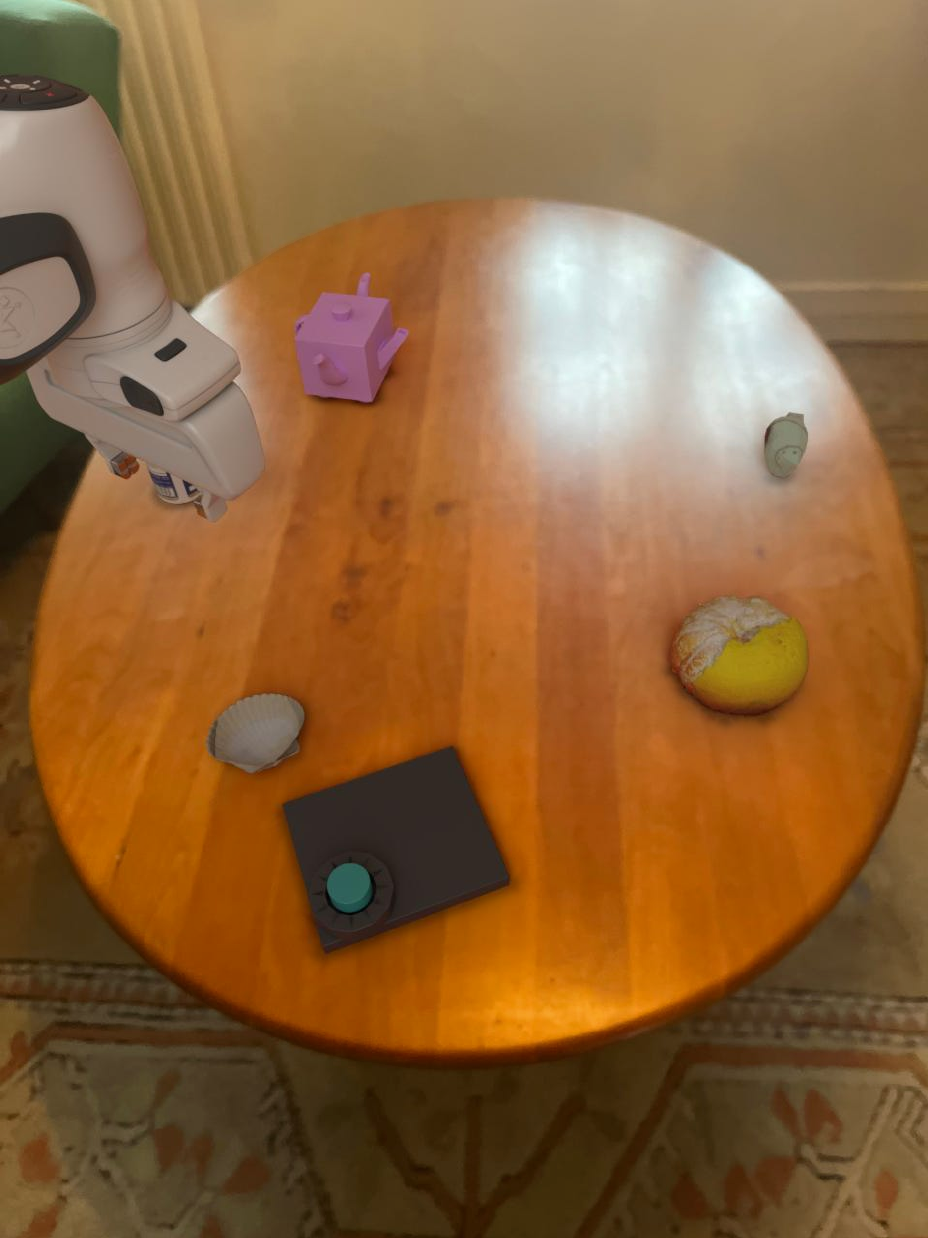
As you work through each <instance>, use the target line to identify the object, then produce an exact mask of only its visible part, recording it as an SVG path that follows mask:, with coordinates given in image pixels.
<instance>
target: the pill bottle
mask: <svg viewBox="0 0 928 1238" xmlns="http://www.w3.org/2000/svg"><path fill="white" fill-rule="evenodd" d="M144 464H145V466H146V469H147V471H148V473H149V476H150V478H151V481H152V484H153V485H154V488H155V489H154V490H155V491H156V494H157V495H158V497H159V498H160V499H161V500H162V501H164V502H165V503H167V504H168V503H169V504H172V505H182V504H187V503H191V502H192V501H193V500H195V499H196V498H197V497H198V496H199V495H203V492H200V491H198V490H197V488H196V486H195V485H193V484H191V483H189V482H187V481H184V480H182V479H180V478H178V477H176V476H174V475H172V474H170V473H167V472H165V471H163V470H161V469H159V468H157V467H155V466H152V465H150V464H148V463H146V462H144Z"/></svg>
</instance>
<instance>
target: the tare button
mask: <svg viewBox="0 0 928 1238" xmlns="http://www.w3.org/2000/svg"><path fill="white" fill-rule="evenodd" d="M327 890H328V893H329V896H330V899H331V901H332V903H333V905H334V906H335V907H336V908H337V909H338V910H340V911H343V912H348V913H350V912H356V911H359V910H361V909H362V908H364V907H365V906H366V905H367V904H368V903H369V901H370V899H371V897H372V893H373V889H372V884H371V880H370V876H369V874H368V872H367V870H366V869H365V868H364V867H362V866H361V865H358V864H355V863H346V864H342V865H340V866H338V867H337V868H335V869H334V870H333V871H332V873H331V874H330V876H329V878H328V881H327Z"/></svg>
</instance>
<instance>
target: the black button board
mask: <svg viewBox="0 0 928 1238" xmlns="http://www.w3.org/2000/svg"><path fill="white" fill-rule="evenodd" d="M281 806H282V808H283V812H284V816H285V819H286V823H287V827H288V830H289V834H290V837H291V840H292V845H293V847H294V848H293V849H294V852H295V855H296V858H297V862H298V866H299V870H300V873H301V876H302V881H303V884H304V887H305V890H306V894H307V899H308V903H309V906H310V909H311V914H312V916H313V919H314V923H315V926H316V930H317V933H318V937H319V940H320V944H321V947H322V950H323V952H324V954H325V955H326V954H329V953H332V952H335V951H337V950H341V949H344V948H346V947H348V946H351V945H353V944H356V943H359V942H361V941H364V940H366V939H367V940H368V939H370V938H372V937H375V936H377V935H380V934H383V933H385V932H388V931H390V930H393V929H397V928H399V927H402V926H405V925H406V924H409V923H412V922H415V921H417V920H420V919H423V918H426V917H428V916H430V915H433V914H436V913H439V912H441V911H445V910H446V909H449V908H452V907H455V906H458V905H460V904H464V903H465V902H468V901H471V900H473V899H476V898H478V897H479V898H480V897H481V896H484V895H486V894H490V893H492V892H494V891H495V892H496V891H498V890H500V889H502V888H505V887H508V886H510V885H511V884H510V883H511V882H510V874H509V872H508V870H507V868H506V865H505V863H504V860H503V858H502V855H501V854H500V851H499V849H498V846H497V844H496V841H495V840H494V837H493V836H492V835H493V834H492V832H491V830H490V828H489V826H488V824H487V822H486V819H485V817H484V814H483V812H482V809H481V807H480V806H479V803H478V801H477V798H476V796H475V794H474V791H473V789H472V786H471V784H470V782H469V780H468V778H467V776H466V773H465V771H464V769H463V766H462V764H461V761H460V759H459V757H458V755H457V753H456V750H455V748H454V746H453V745H450V746H447V747H445V748H441V749H439V750H435V751H433V752H431V753H427V754H424V755H421V756H419V757H415V758H413V759H410V760H407V761H404V762H400V763H398V764H396V765H391V766H389V767H386V768H383V769H380V770H377V771H374V772H371V773H369V774H368V773H367V774H365V775H363V776H359V777H356V778H354V779H350V780H347V781H344V782H342V783H339V784H336V785H333V786H330V787H327V788H324V789H321V790H319V791H318V790H317V791H316V792H313V793H309V794H307V795H304V796H300V797H298V798H295V799H292V800H289V801H286V802H283V803H282V804H281ZM346 863H355V864H358V865H361V866H362V867H364V868H365V869H366V870H367V872H368V874H369V876H370V880H371V884H372V889H373V893H372V897H371V899H370V901H369V903H368V904H367V905H366V906H365V907H364V908H362V909H361V910H359V911H356V912H350V913H348V912H343V911H340V910H338V909H337V908H336V907H335V906H334V905H333V903H332V901H331V899H330V896H329V893H328V890H327V881H328V878H329V876H330V874H331V873H332V871H333V870H334V869H335V868H337V867H338V866H340V865H342V864H346Z"/></svg>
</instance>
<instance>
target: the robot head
mask: <svg viewBox="0 0 928 1238" xmlns="http://www.w3.org/2000/svg"><path fill="white" fill-rule="evenodd" d="M808 443H809V431H808V428H807V426H806V425H805V414H804V413H797V412H791V411H789V412H788V413H787V414H786V415H784V416H779V417H778V418H775V419H773V421H772V422H771V423H770V424H769V425H768V426H767V428H766V429H765V433H764V441H763V444H764V445H763V454H764V458H765V463H766V466H767V468H768V469H769V471H770V473H772V474H773V475H774V476H775V477H777V478H785V477H787V476H789V475H790V474H792V473H794V471H795V470H796V469H797V467H799V465H800V463H801V461H802V459H803V457H804V455H805V454H806V450H807V448H808Z"/></svg>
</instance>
